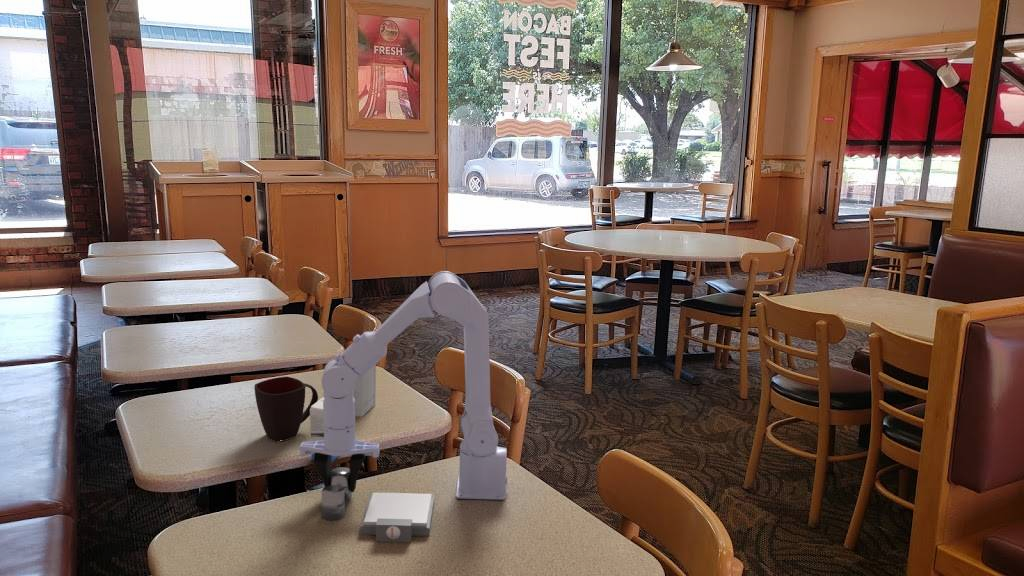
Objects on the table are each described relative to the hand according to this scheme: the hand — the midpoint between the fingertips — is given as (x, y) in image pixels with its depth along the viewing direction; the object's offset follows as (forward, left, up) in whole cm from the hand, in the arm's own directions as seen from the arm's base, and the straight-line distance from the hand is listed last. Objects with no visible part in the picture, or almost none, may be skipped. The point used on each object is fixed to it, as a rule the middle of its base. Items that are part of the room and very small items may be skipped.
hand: (340, 489), depth 140 cm
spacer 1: (0, 0, -1) cm, 1 cm away
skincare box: (+4, -41, -2) cm, 41 cm away
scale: (-12, +8, -2) cm, 15 cm away
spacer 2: (0, +7, -2) cm, 7 cm away
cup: (+17, -27, -2) cm, 32 cm away
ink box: (+6, -18, -2) cm, 19 cm away
